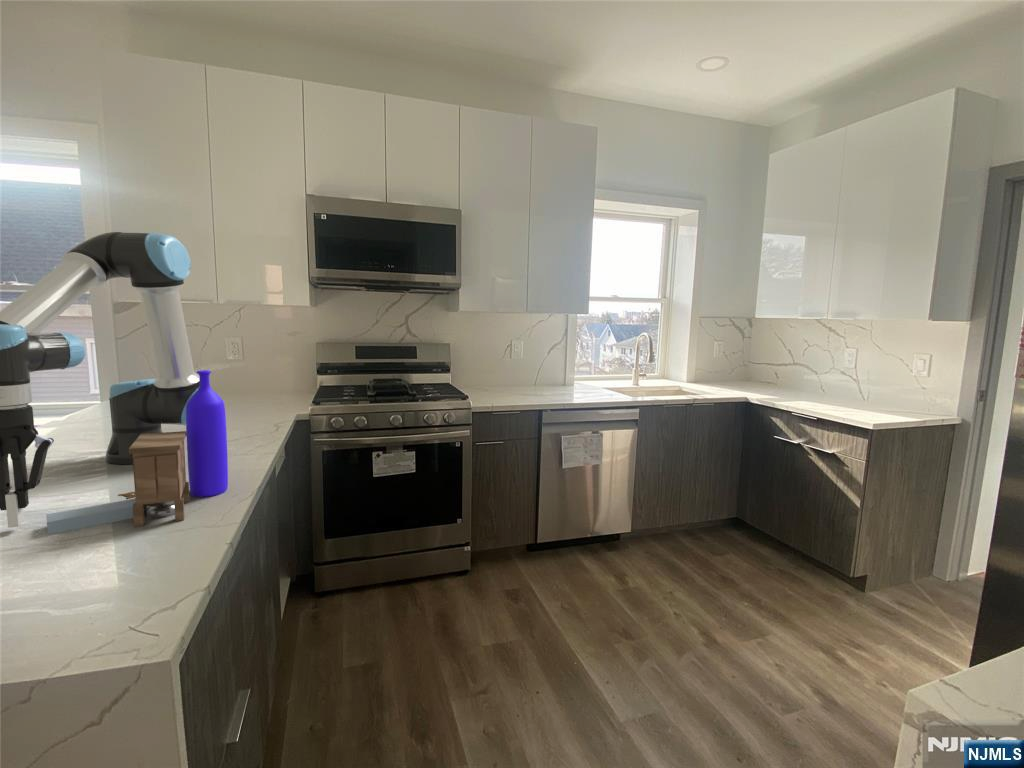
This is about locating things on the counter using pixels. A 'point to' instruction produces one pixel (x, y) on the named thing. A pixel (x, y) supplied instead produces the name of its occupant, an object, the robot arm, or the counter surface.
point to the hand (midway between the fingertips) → (16, 524)
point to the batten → (89, 516)
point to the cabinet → (159, 472)
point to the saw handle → (128, 495)
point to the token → (160, 509)
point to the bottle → (206, 441)
